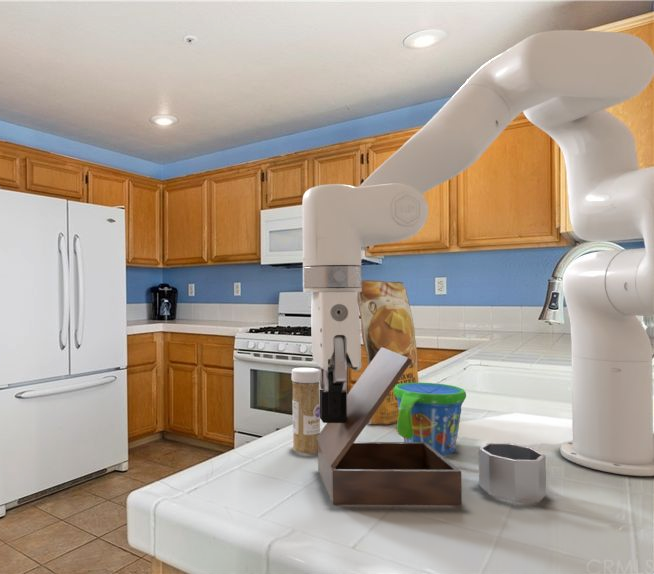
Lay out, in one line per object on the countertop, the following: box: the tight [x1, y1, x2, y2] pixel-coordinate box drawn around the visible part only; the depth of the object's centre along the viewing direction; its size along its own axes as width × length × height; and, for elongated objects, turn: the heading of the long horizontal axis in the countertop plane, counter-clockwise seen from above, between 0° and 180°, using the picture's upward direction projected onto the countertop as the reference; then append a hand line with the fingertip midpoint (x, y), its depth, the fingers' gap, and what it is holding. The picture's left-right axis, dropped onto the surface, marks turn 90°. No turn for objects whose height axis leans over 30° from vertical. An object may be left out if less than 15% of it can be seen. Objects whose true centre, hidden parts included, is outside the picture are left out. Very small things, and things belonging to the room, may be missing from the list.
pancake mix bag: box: [356, 279, 419, 425], centre depth 100 cm, size 7×19×28 cm, turn 125°
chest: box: [317, 441, 463, 507], centre depth 64 cm, size 15×11×5 cm
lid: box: [316, 347, 412, 469], centre depth 64 cm, size 16×11×1 cm
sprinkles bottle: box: [291, 367, 321, 455], centre depth 79 cm, size 5×5×14 cm
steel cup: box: [478, 442, 547, 503], centre depth 62 cm, size 7×7×6 cm
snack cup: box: [394, 382, 467, 456], centre depth 80 cm, size 16×10×10 cm
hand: (333, 420), depth 64 cm, fingers closed
